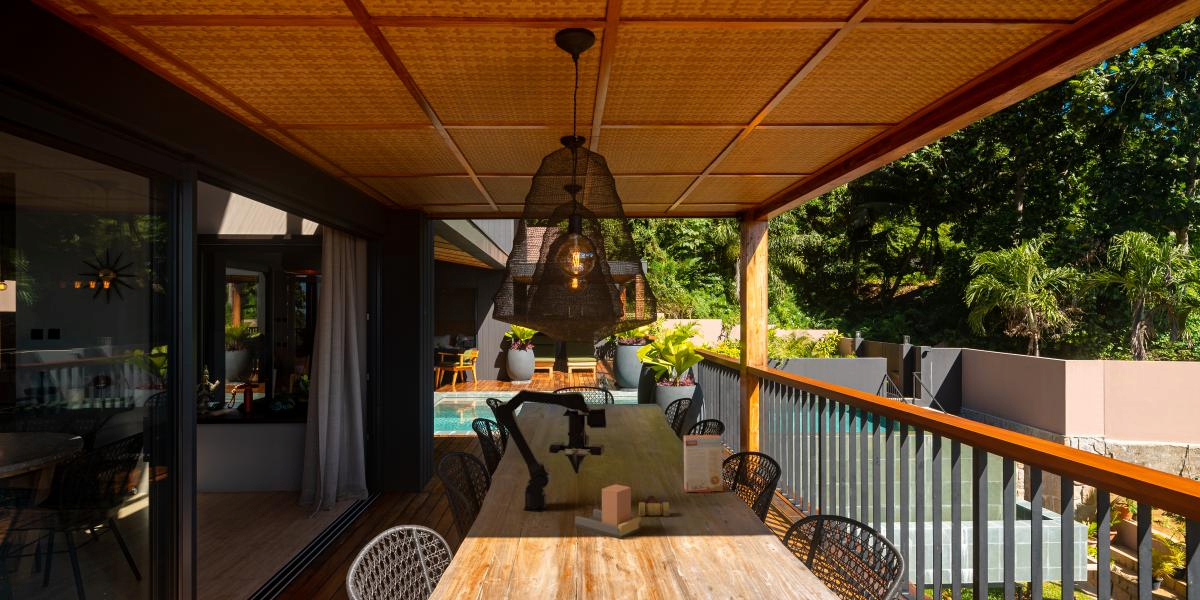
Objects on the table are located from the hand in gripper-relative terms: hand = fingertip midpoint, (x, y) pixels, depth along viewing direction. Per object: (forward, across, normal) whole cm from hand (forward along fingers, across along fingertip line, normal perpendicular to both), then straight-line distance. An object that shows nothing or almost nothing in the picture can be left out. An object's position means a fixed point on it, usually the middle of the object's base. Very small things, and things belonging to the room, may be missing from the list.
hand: (577, 473), depth 225 cm
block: (+11, -18, +19) cm, 29 cm away
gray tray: (+12, -15, +17) cm, 26 cm away
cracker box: (+13, -40, -33) cm, 53 cm away
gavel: (+13, -25, -7) cm, 29 cm away
